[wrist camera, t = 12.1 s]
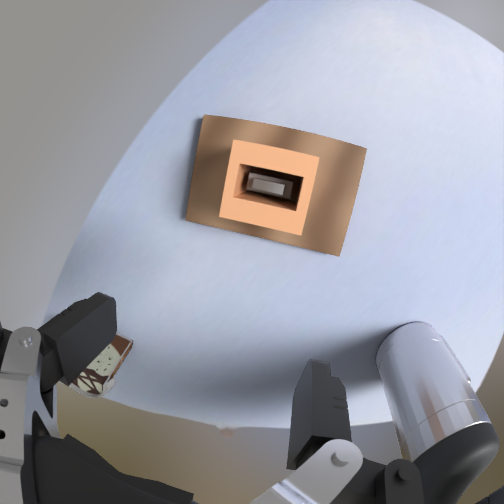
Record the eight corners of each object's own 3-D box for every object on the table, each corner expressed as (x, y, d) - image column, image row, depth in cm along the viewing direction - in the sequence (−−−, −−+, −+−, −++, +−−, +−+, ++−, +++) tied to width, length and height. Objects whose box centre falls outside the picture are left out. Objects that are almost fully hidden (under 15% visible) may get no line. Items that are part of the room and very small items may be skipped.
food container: (81, 341, 39) (47, 373, 30) (78, 313, 37) (39, 345, 28) (141, 371, 38) (111, 414, 29) (141, 344, 36) (107, 387, 27)
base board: (363, 149, 25) (382, 145, 18) (337, 252, 28) (347, 275, 22) (208, 116, 26) (184, 104, 20) (190, 217, 29) (164, 231, 23)
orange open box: (313, 159, 24) (319, 157, 19) (299, 220, 26) (301, 235, 21) (247, 145, 25) (233, 139, 19) (235, 205, 27) (218, 216, 21)
